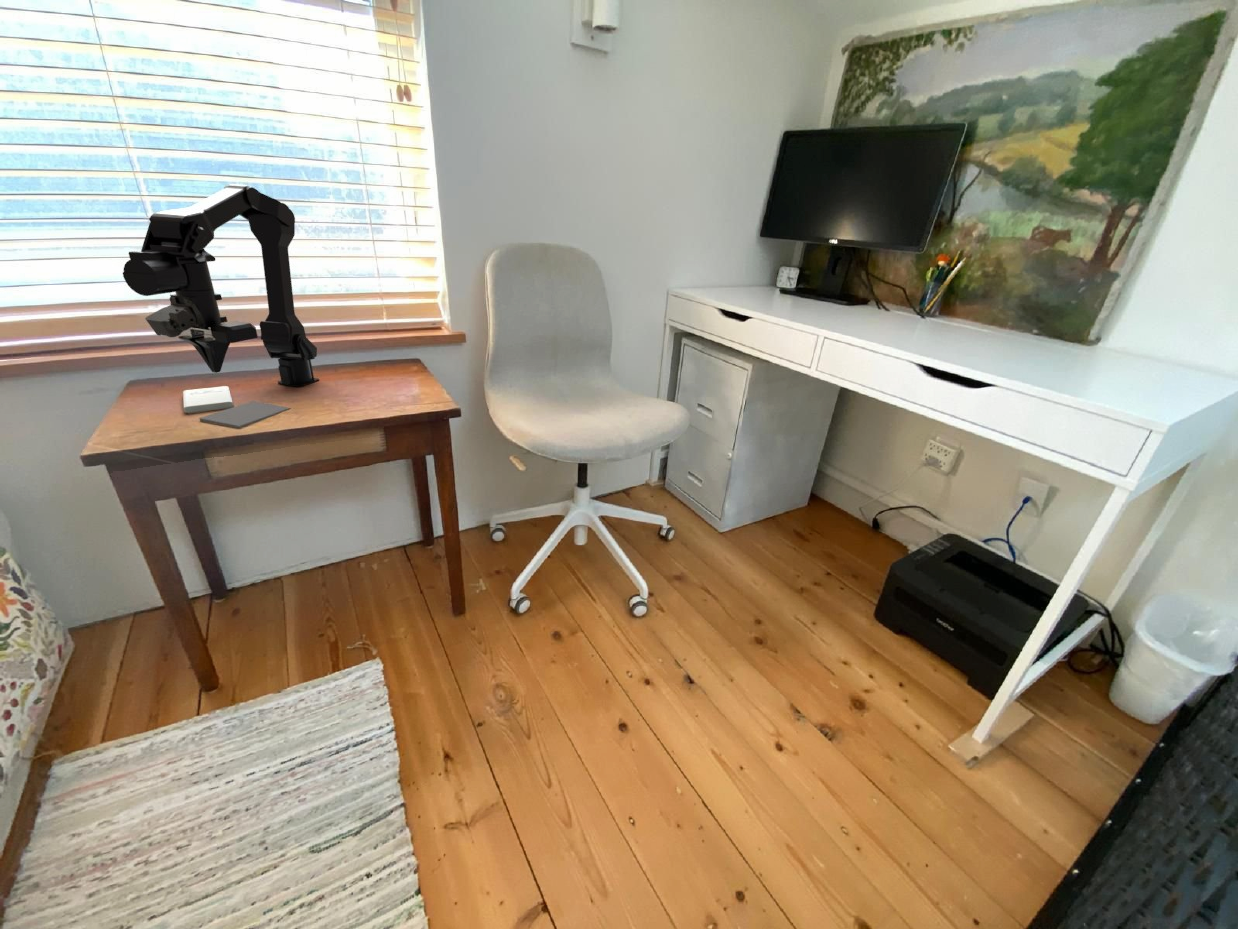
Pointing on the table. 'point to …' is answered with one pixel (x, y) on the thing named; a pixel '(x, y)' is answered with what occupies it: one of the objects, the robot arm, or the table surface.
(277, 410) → the desk mat
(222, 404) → the external hard drive
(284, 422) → the table surface
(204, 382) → the table surface
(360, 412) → the table surface
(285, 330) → the robot arm
